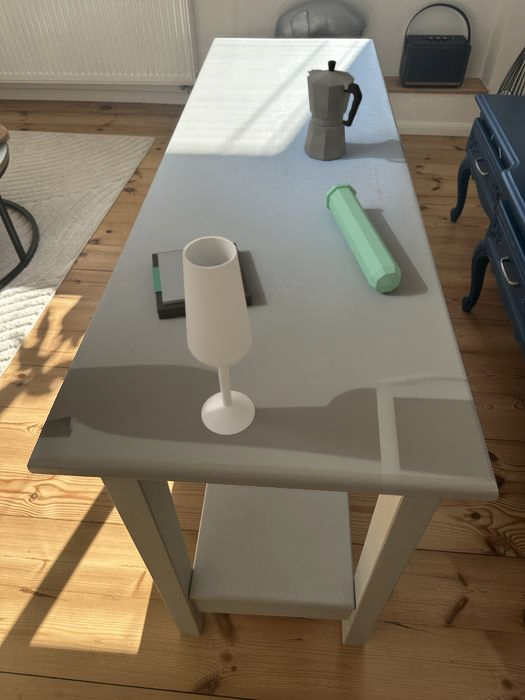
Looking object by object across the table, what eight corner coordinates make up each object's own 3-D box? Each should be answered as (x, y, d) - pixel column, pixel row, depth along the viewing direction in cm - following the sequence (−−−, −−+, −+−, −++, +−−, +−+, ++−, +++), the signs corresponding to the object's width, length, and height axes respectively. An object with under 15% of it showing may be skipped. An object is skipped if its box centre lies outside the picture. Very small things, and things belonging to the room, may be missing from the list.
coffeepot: (289, 146, 109) (291, 56, 95) (321, 135, 112) (327, 47, 99) (335, 173, 100) (345, 78, 87) (368, 159, 104) (382, 67, 90)
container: (404, 263, 69) (350, 176, 86) (366, 280, 70) (320, 191, 87) (411, 289, 74) (358, 202, 90) (374, 305, 75) (329, 216, 91)
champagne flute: (251, 437, 57) (242, 278, 39) (196, 432, 58) (162, 273, 40) (258, 392, 62) (252, 231, 44) (206, 388, 62) (180, 228, 44)
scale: (158, 319, 71) (155, 307, 69) (153, 262, 80) (150, 250, 79) (252, 304, 73) (251, 292, 71) (236, 251, 82) (235, 239, 80)
